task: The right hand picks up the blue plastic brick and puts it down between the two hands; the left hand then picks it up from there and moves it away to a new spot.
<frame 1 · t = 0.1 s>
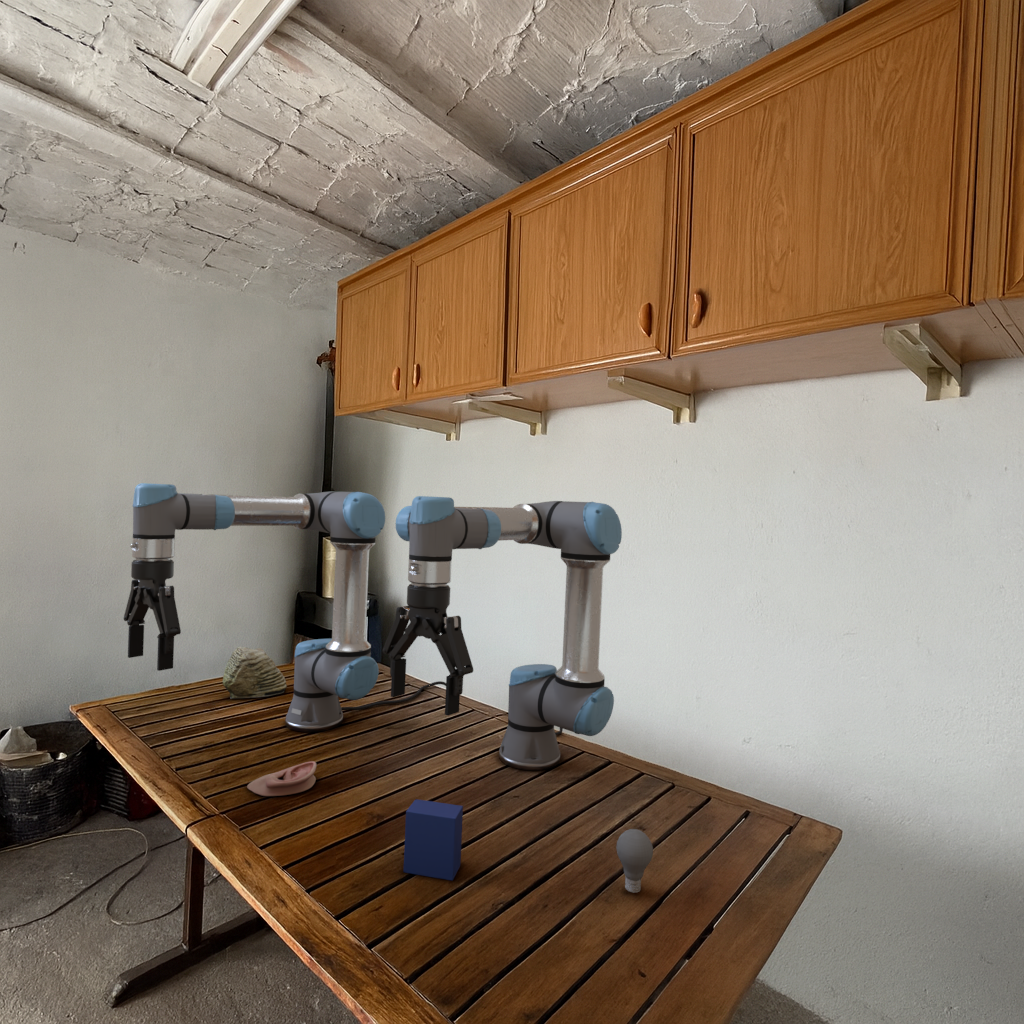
left hand: (149, 662, 129), 28 cm above the table, tool pointing down, fingers open, 13 cm apart
right hand: (423, 704, 112), 28 cm above the table, tool pointing down, fingers open, 13 cm apart
light bulb: (632, 891, 106), on the table
anatomical model: (282, 785, 138), on the table
brick: (432, 868, 110), on the table
fossil: (254, 694, 198), on the table
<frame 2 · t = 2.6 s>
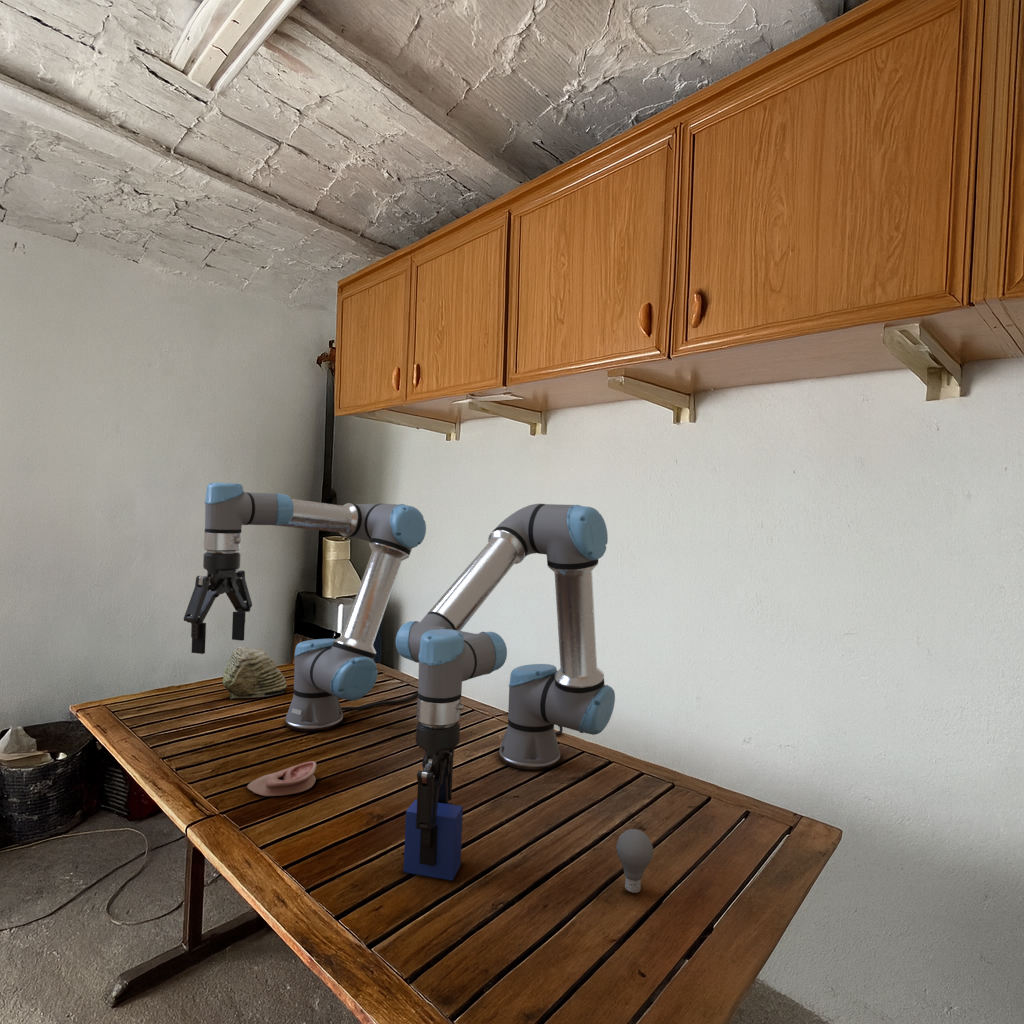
left hand: (219, 646, 142), 29 cm above the table, tool pointing down, fingers open, 13 cm apart
right hand: (432, 854, 110), 3 cm above the table, tool pointing down, fingers closed on brick, 5 cm apart
brick: (432, 868, 110), on the table, touching right hand
everything else where it was.
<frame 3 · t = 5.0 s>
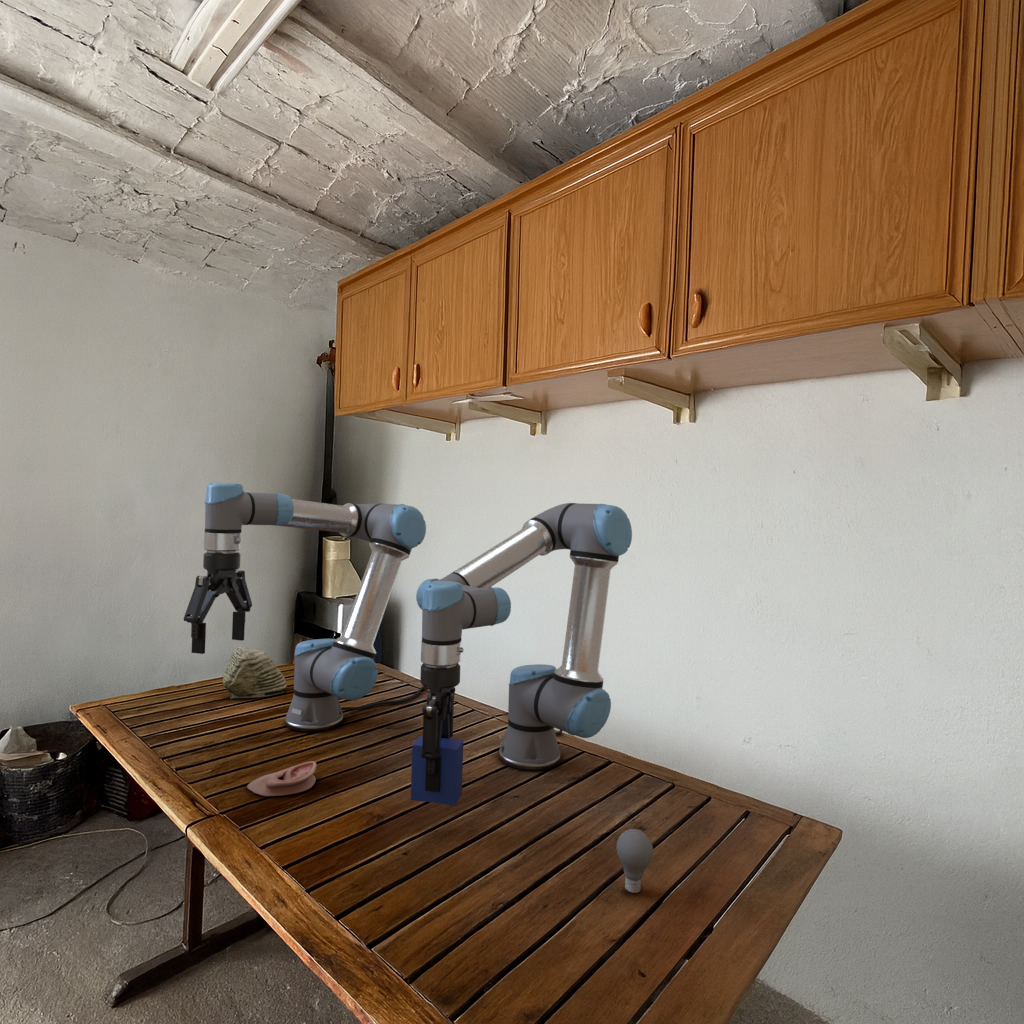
left hand: (219, 646, 142), 29 cm above the table, tool pointing down, fingers open, 13 cm apart
right hand: (437, 784, 121), 10 cm above the table, tool pointing down, fingers closed on brick, 5 cm apart
brick: (436, 797, 121), point 7 cm above the table, touching right hand
everything else where it was.
when the right hand's fingers open (4 cm above the table, at t = 7.7 s): brick drops 1 cm, on the table.
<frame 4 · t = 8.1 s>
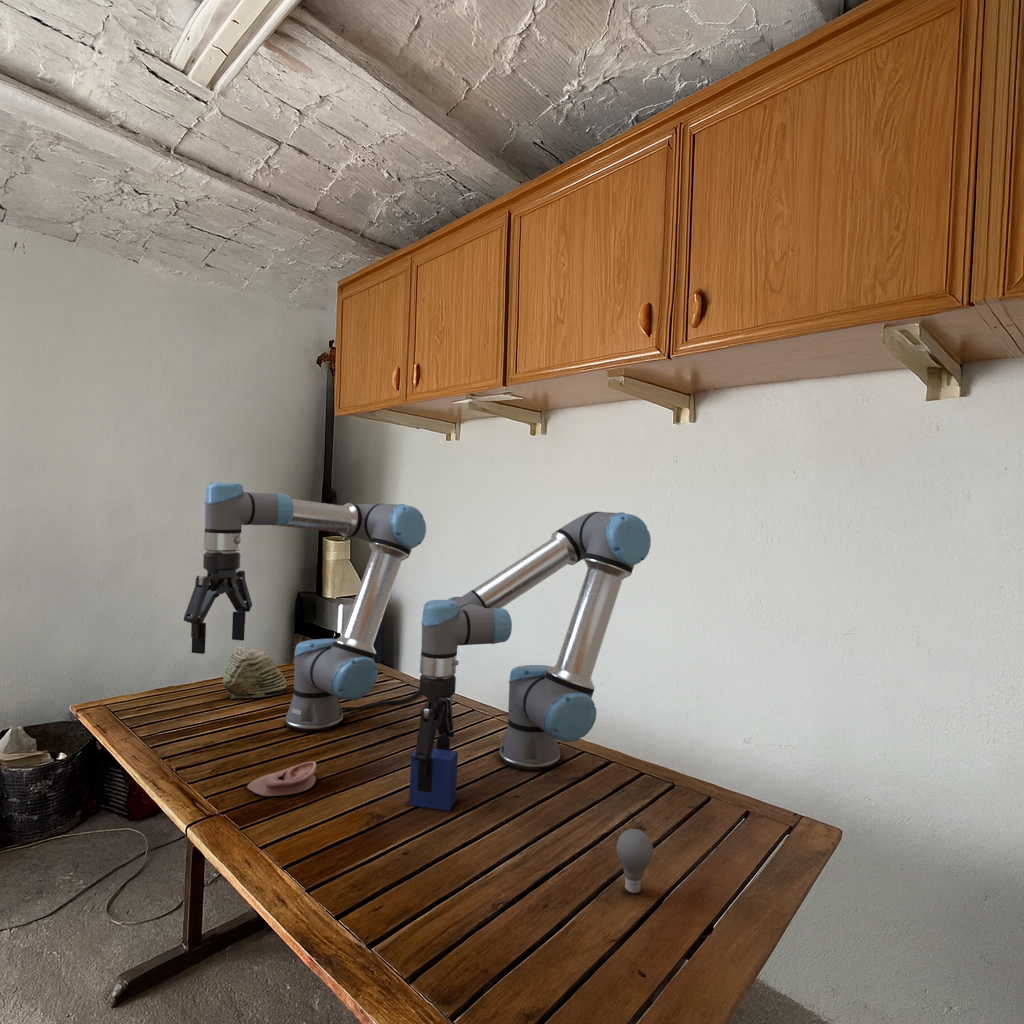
left hand: (219, 646, 142), 29 cm above the table, tool pointing down, fingers open, 13 cm apart
right hand: (433, 778, 133), 5 cm above the table, tool pointing down, fingers open, 11 cm apart
brick: (432, 802, 133), on the table
everything else where it was.
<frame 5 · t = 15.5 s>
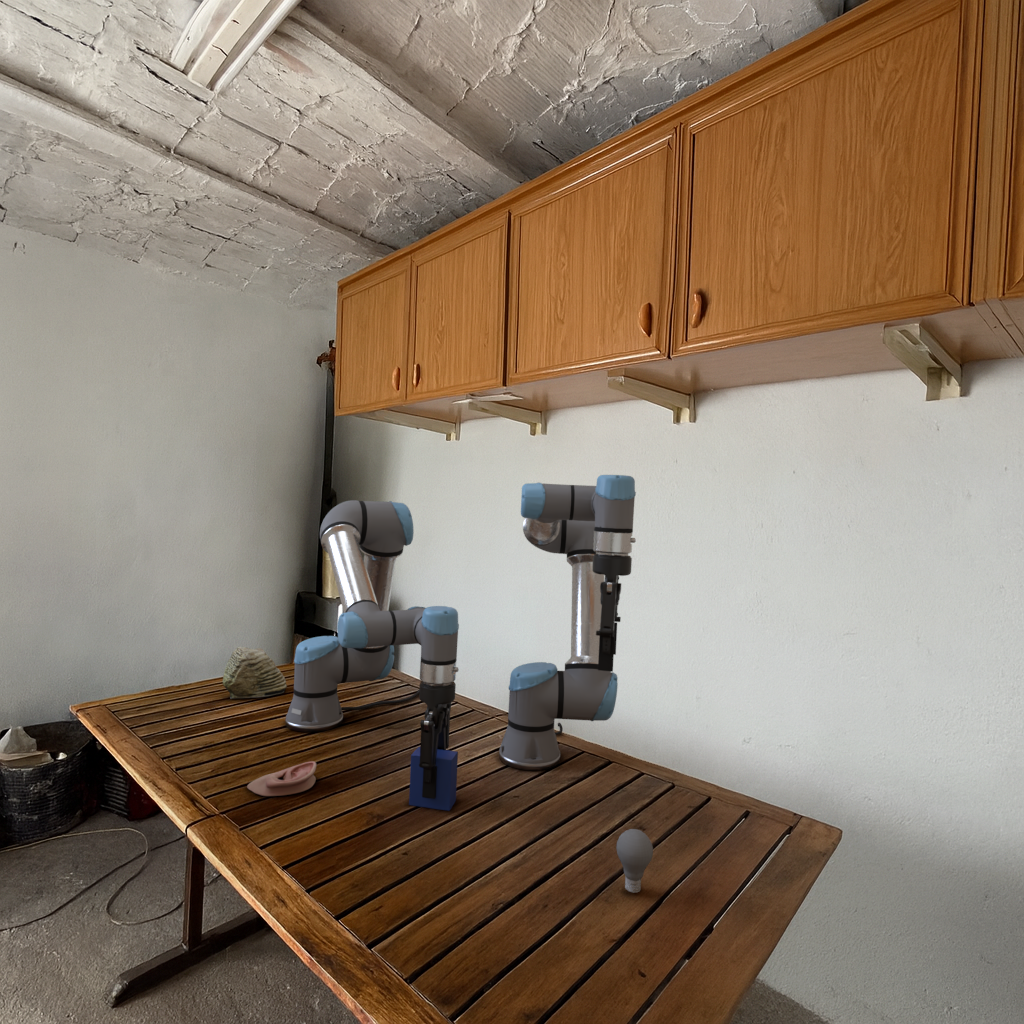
left hand: (433, 791, 133), 3 cm above the table, tool pointing down, fingers closed on brick, 5 cm apart
right hand: (607, 661, 124), 34 cm above the table, tool pointing down, fingers open, 13 cm apart
brick: (432, 802, 133), on the table, touching left hand
everything else where it was.
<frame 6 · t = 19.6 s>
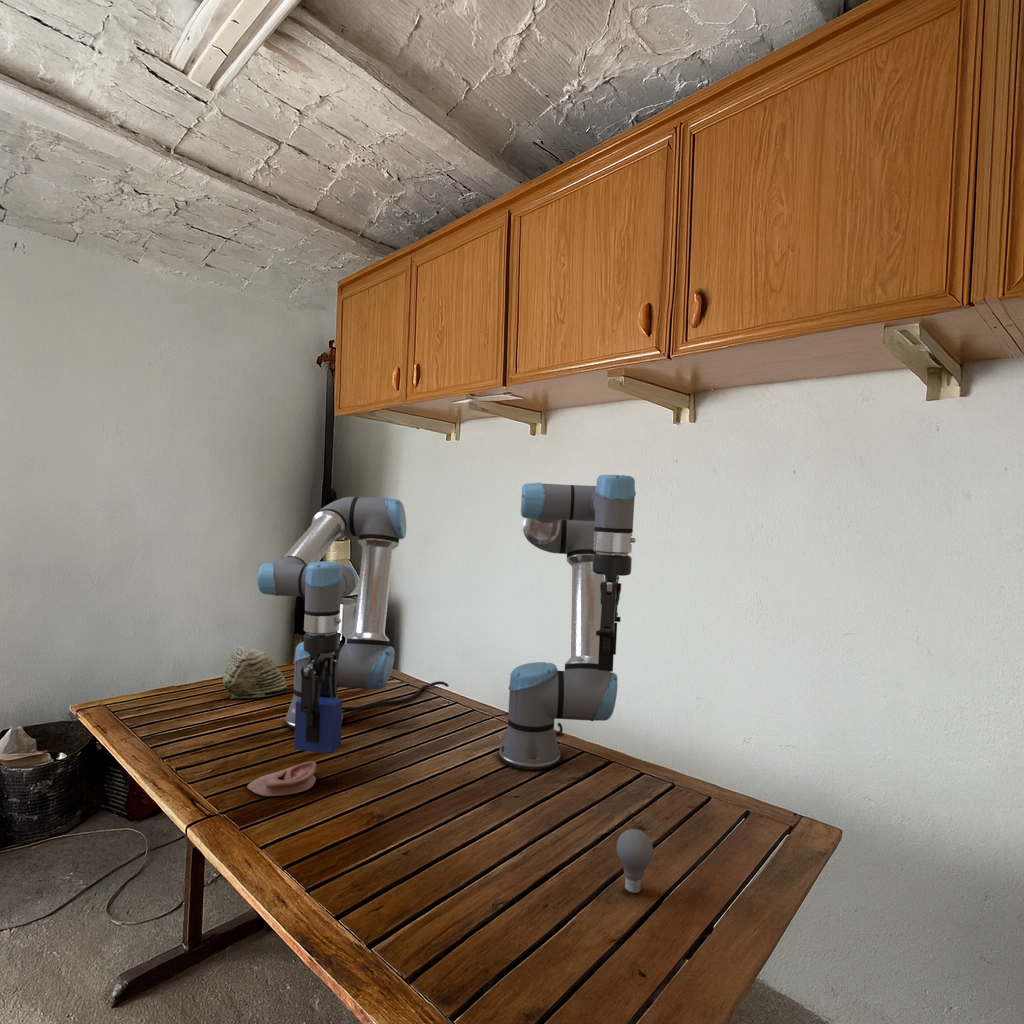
left hand: (318, 736, 140), 10 cm above the table, tool pointing down, fingers closed on brick, 5 cm apart
right hand: (607, 661, 124), 34 cm above the table, tool pointing down, fingers open, 13 cm apart
brick: (317, 747, 140), point 8 cm above the table, touching left hand
everything else where it was.
when the left hand's fingers open (4 cm above the table, at t = 23.9 s): brick drops 1 cm, on the table.
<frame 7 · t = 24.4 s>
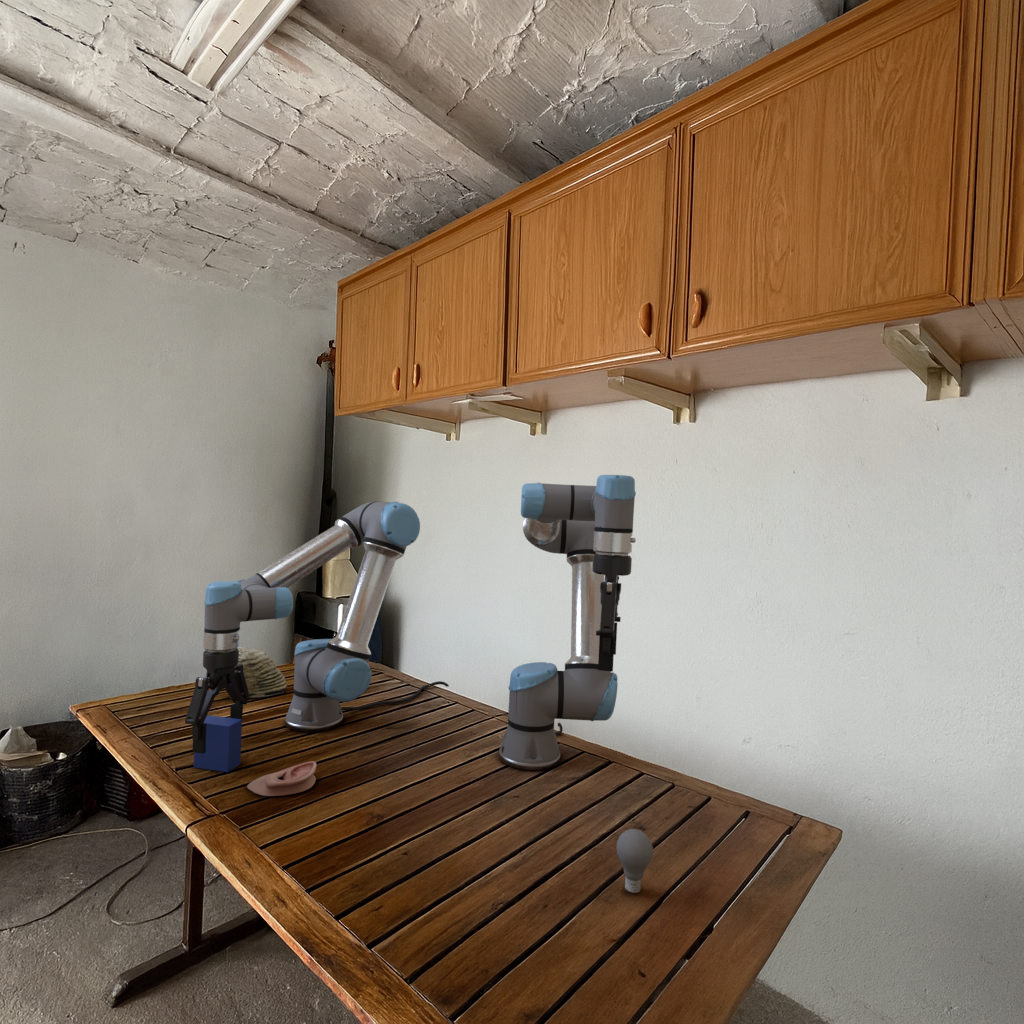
left hand: (218, 741, 146), 6 cm above the table, tool pointing down, fingers open, 12 cm apart
right hand: (607, 661, 124), 34 cm above the table, tool pointing down, fingers open, 13 cm apart
brick: (217, 765, 146), on the table
everything else where it was.
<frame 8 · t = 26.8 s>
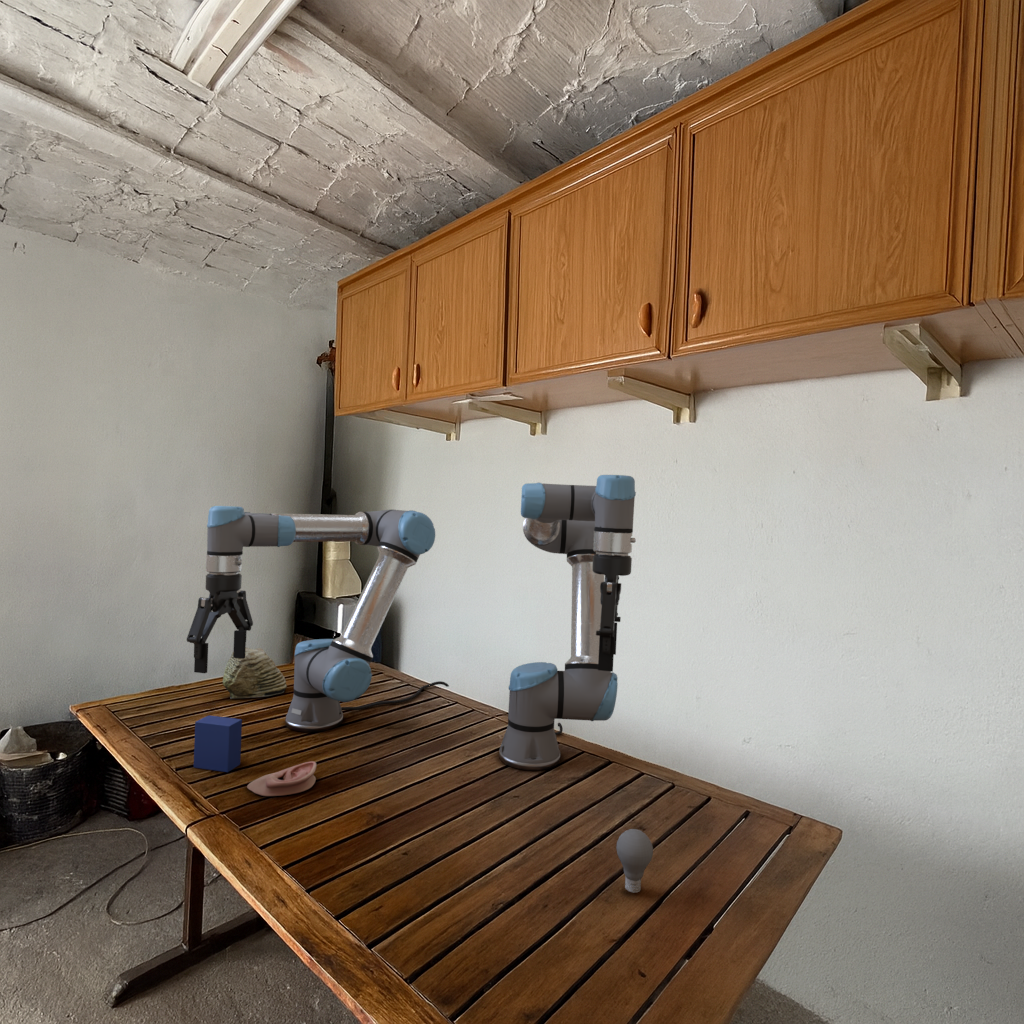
left hand: (220, 665, 146), 23 cm above the table, tool pointing down, fingers open, 13 cm apart
right hand: (607, 661, 124), 34 cm above the table, tool pointing down, fingers open, 13 cm apart
nothing on the table moved.
at the end: brick inside the target area (0.1 cm from its centre), on the table; brick tilted 0°; the two hands never held the brick at the same time; the left hand is holding nothing; the right hand is holding nothing; brick at rest at the end (0.0 cm/s) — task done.
